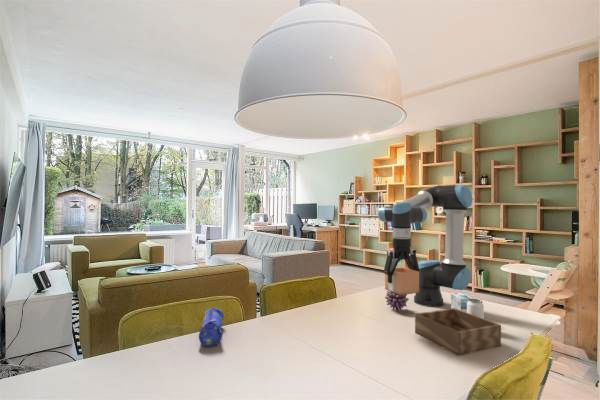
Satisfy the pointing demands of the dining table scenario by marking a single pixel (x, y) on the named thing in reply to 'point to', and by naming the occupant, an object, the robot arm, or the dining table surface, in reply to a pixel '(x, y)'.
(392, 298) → the purple spiky ball
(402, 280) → the small crate
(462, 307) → the light bulb box
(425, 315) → the large crate
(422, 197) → the robot arm
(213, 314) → the pencil case
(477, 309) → the can
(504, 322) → the dining table surface
